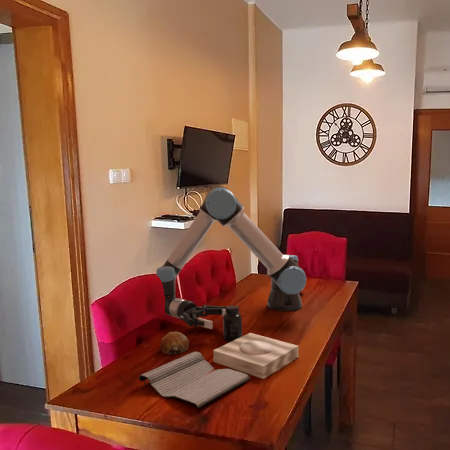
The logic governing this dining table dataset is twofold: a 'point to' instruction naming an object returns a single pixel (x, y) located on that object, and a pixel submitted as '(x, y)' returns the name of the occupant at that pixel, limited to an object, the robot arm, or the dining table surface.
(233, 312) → the supplement bottle
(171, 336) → the bread roll
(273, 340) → the stand
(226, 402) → the dining table surface
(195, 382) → the mat
